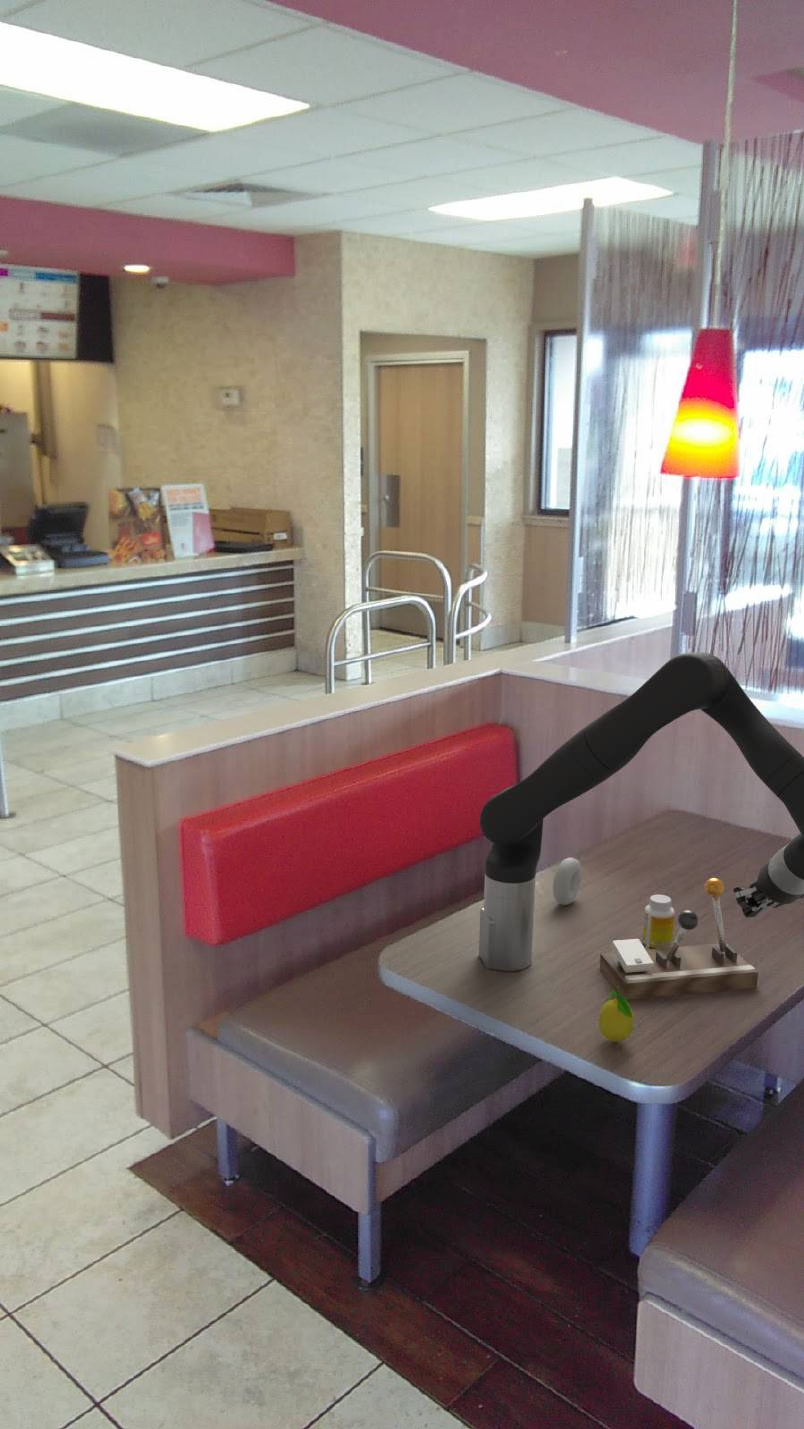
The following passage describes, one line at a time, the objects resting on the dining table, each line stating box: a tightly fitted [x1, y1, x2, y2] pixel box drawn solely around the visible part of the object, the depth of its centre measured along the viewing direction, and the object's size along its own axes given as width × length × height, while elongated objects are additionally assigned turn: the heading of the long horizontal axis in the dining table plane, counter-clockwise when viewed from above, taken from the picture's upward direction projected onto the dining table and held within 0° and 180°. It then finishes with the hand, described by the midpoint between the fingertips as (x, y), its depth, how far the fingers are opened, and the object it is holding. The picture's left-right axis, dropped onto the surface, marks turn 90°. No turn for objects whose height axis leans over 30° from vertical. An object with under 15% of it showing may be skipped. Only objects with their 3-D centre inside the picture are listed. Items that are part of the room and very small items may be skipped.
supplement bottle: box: [642, 894, 675, 950], centre depth 214 cm, size 6×6×10 cm
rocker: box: [611, 938, 654, 973], centre depth 201 cm, size 5×7×2 cm
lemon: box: [598, 986, 635, 1043], centre depth 181 cm, size 7×6×10 cm
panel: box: [599, 942, 759, 1001], centre depth 203 cm, size 25×12×5 cm, turn 102°
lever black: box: [666, 909, 699, 961], centre depth 197 cm, size 3×3×14 cm
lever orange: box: [704, 877, 727, 952], centre depth 206 cm, size 3×3×14 cm
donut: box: [552, 857, 583, 906], centre depth 234 cm, size 10×4×10 cm, turn 149°
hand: (747, 912), depth 196 cm, fingers closed
